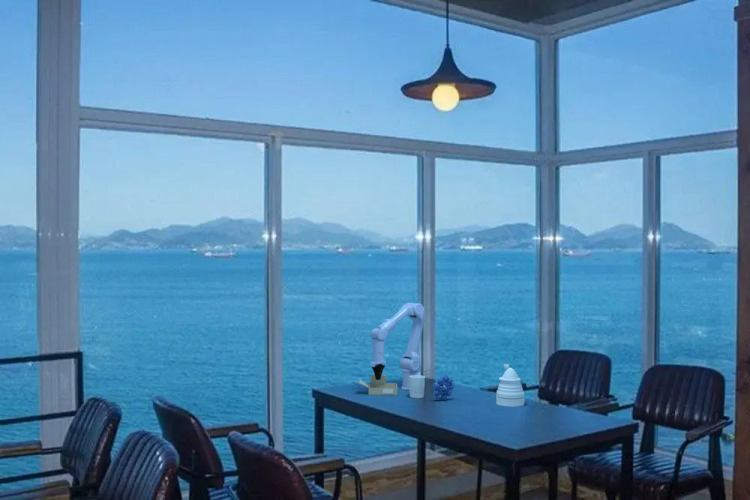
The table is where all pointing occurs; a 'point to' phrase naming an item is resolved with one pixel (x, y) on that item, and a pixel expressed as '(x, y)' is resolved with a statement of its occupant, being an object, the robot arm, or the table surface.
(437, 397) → the grapes
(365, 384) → the flap far
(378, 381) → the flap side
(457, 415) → the table surface
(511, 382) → the honey pot
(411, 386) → the white cup
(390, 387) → the carton
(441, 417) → the table surface
